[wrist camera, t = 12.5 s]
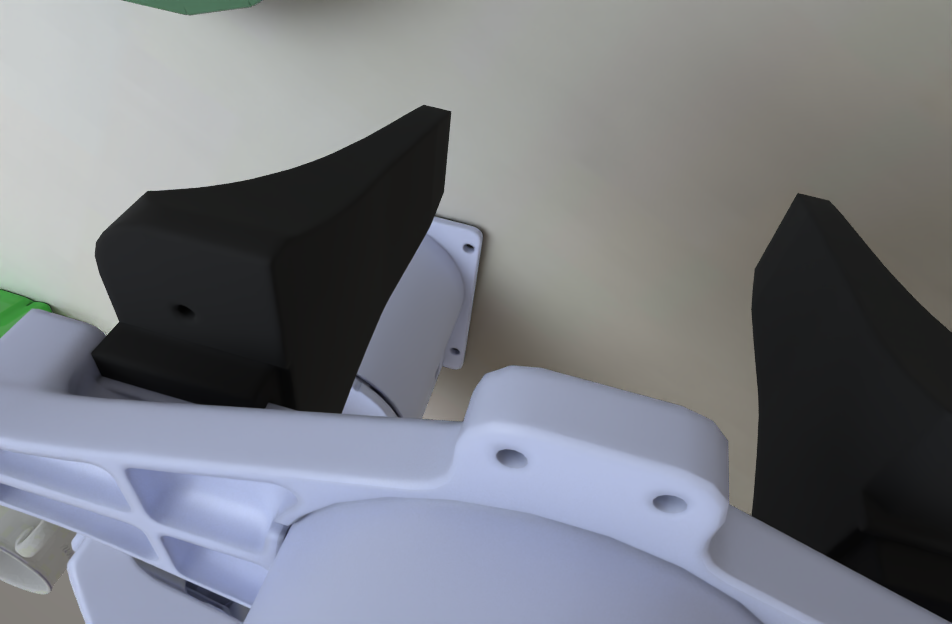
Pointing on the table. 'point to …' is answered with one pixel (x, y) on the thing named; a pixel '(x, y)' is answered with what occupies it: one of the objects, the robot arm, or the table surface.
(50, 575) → the teacup
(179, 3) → the bowl
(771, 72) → the table surface
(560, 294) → the table surface
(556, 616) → the robot arm
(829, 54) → the table surface
